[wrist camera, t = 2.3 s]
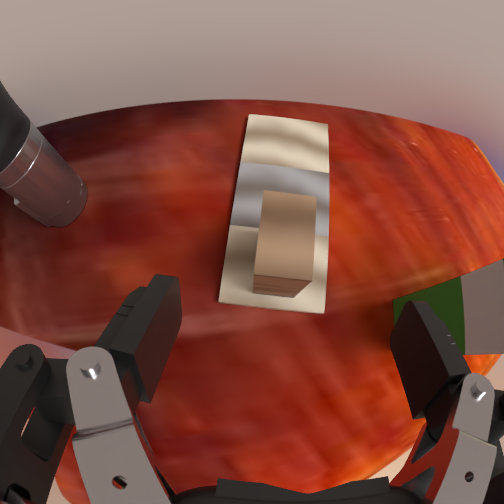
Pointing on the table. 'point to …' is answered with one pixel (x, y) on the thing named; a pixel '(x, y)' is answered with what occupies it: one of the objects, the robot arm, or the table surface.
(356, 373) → the table surface
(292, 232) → the block
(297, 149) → the board
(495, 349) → the hardback book
